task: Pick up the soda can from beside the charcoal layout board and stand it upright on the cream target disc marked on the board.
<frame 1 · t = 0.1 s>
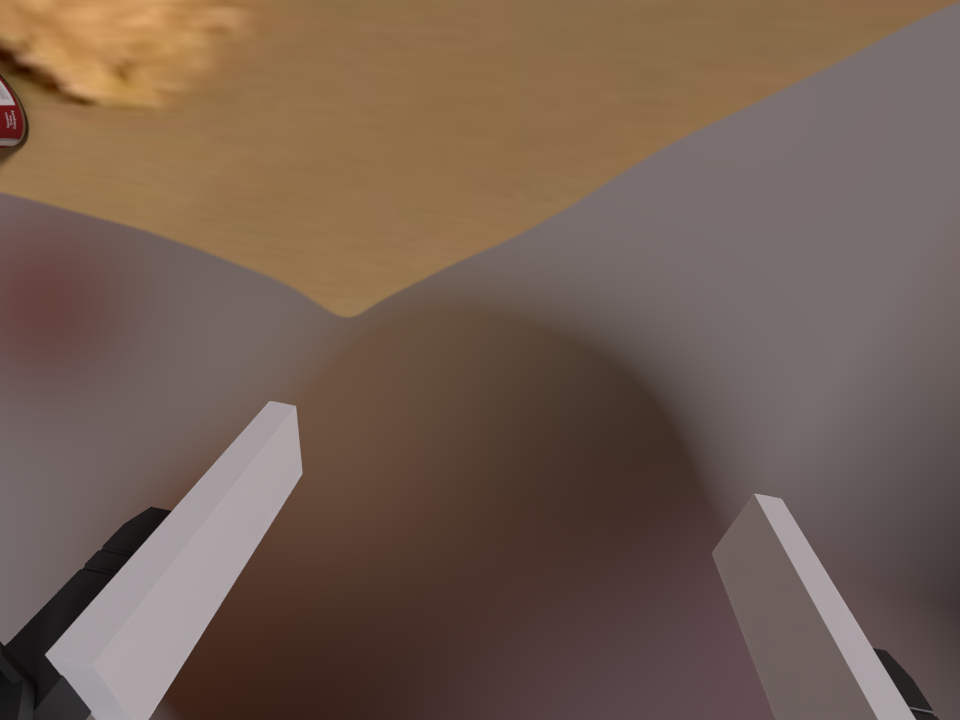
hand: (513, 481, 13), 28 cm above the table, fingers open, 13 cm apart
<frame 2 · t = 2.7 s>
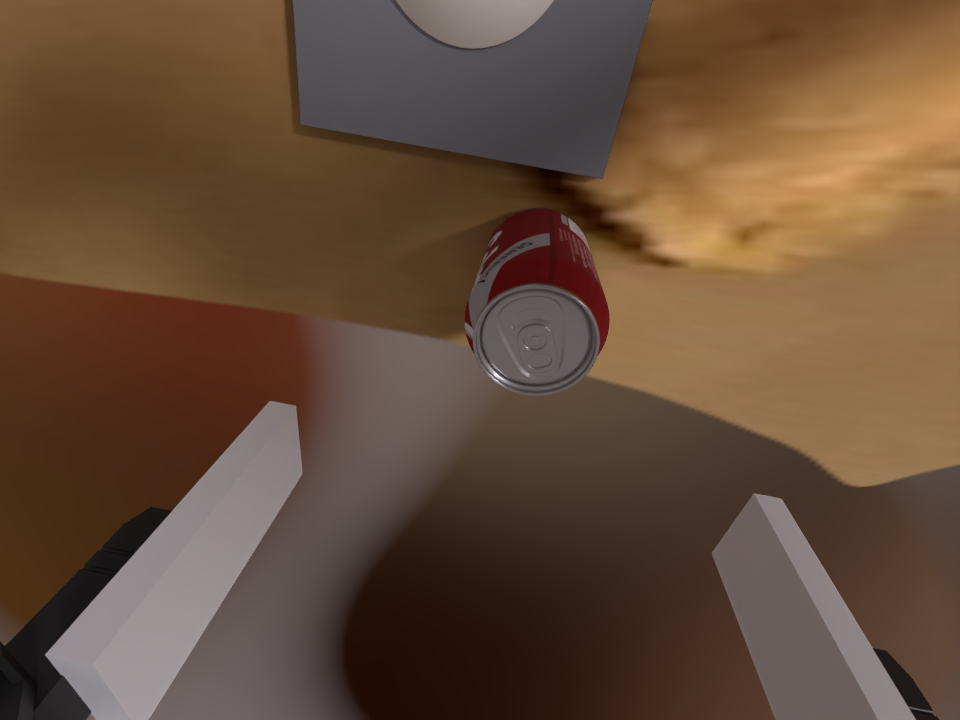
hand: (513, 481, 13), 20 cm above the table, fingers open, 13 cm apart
soda can: (536, 256, 29), on the table
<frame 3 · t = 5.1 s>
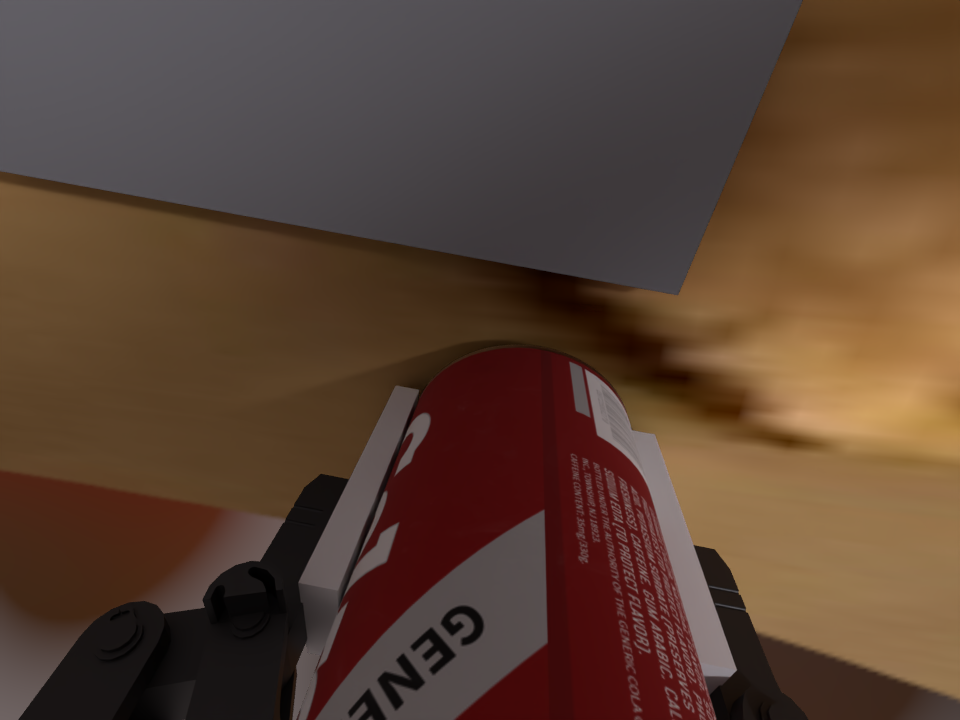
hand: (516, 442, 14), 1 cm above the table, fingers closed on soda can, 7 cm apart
soda can: (519, 419, 15), on the table, touching gripper
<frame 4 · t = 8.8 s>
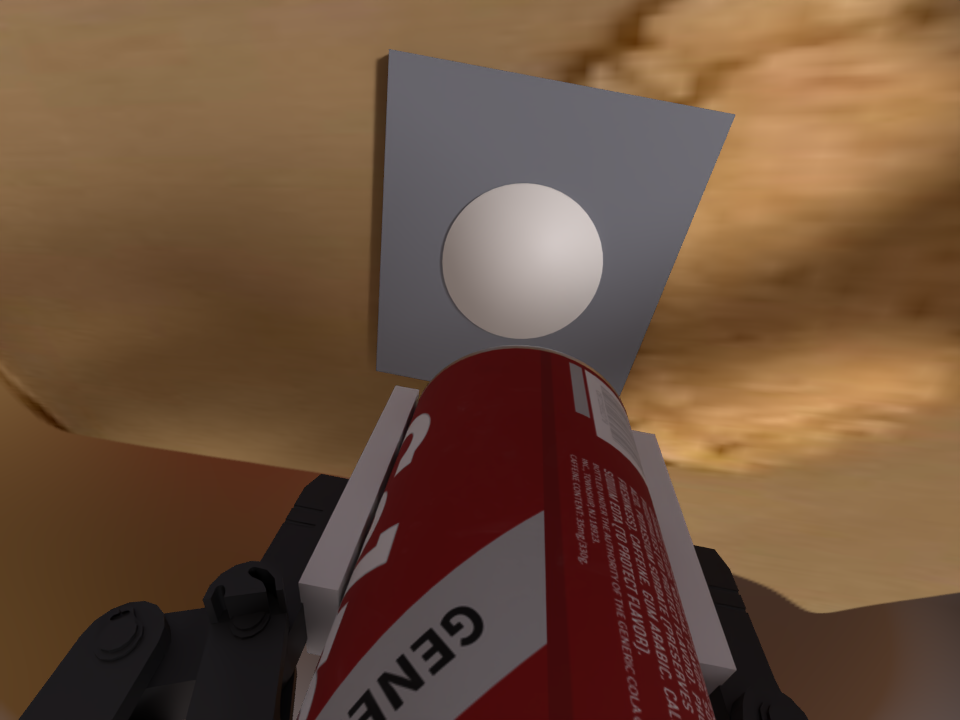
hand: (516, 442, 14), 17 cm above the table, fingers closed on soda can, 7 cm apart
layout board: (521, 262, 28), on the table
soda can: (519, 419, 15), point 16 cm above the table, touching gripper
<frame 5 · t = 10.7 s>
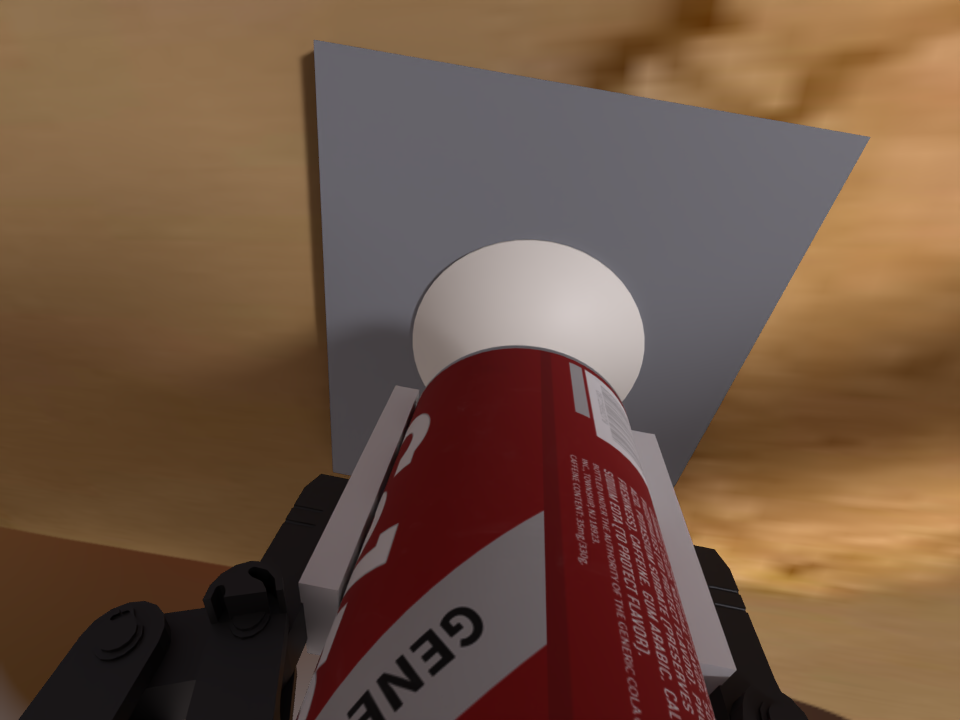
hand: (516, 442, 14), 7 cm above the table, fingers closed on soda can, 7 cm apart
layout board: (525, 341, 20), on the table
soda can: (519, 419, 15), point 6 cm above the table, touching gripper
when the fingers open (3 cm above the table, at t = 12.3 s): soda can drops 1 cm, resting on layout board.
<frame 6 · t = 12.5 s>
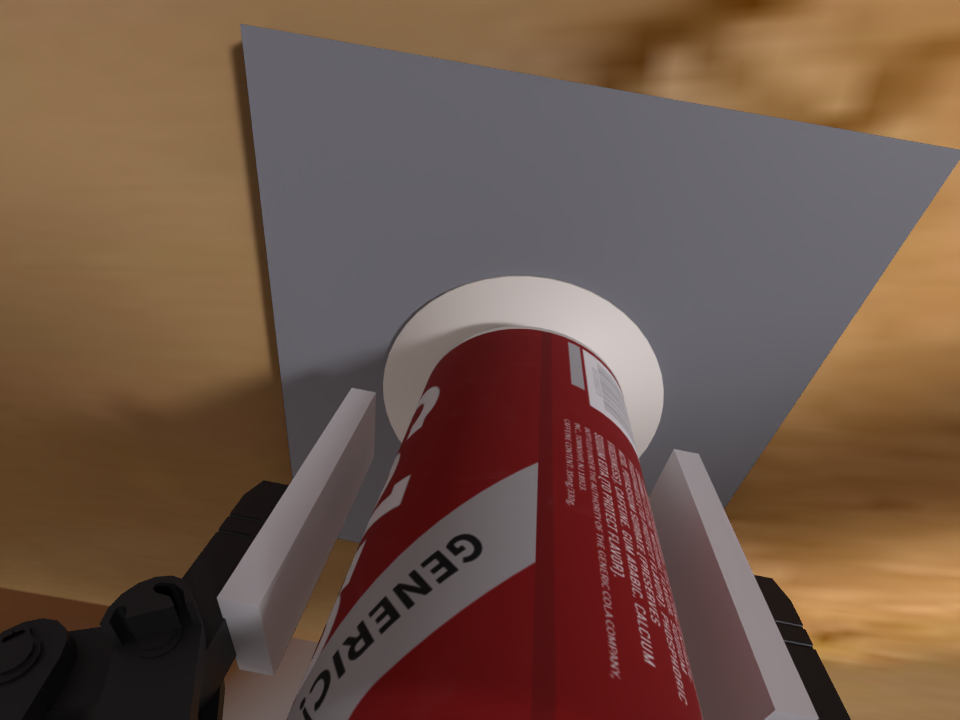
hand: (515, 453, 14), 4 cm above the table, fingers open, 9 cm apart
layout board: (519, 389, 17), on the table
soda can: (522, 398, 16), point 1 cm above the table, touching layout board
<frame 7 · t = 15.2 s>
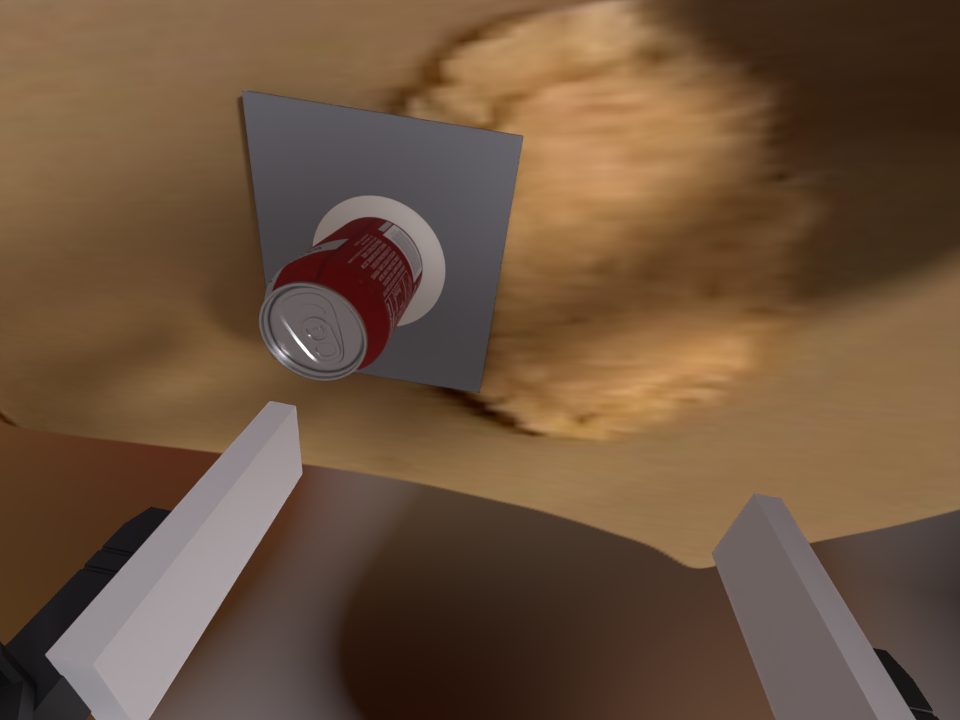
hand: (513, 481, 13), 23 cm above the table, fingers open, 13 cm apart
layout board: (383, 261, 33), on the table
soda can: (380, 260, 32), point 1 cm above the table, touching layout board
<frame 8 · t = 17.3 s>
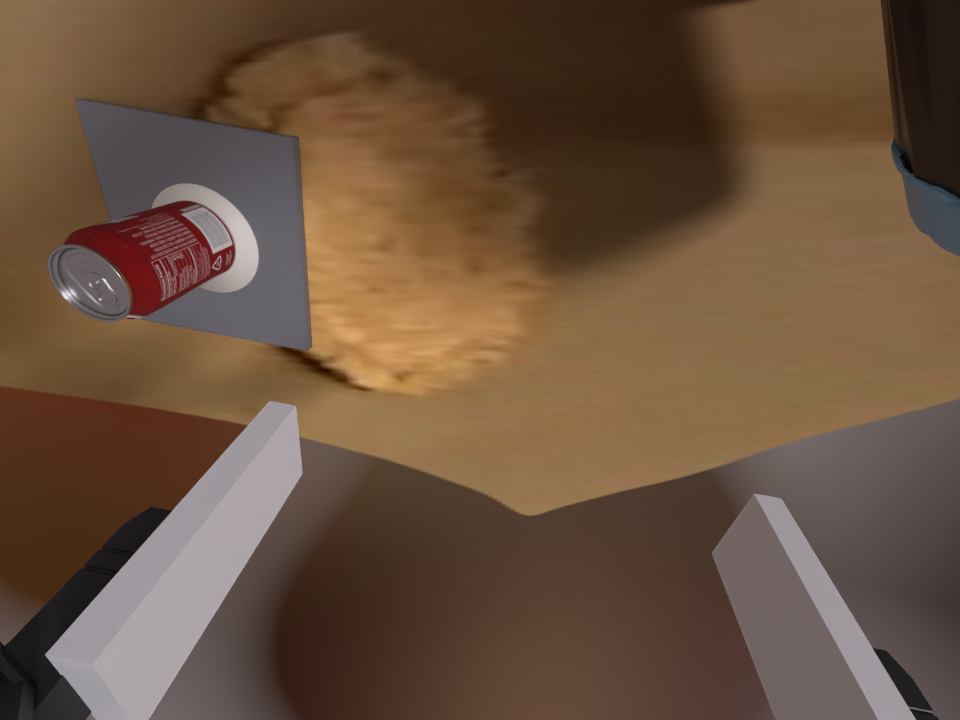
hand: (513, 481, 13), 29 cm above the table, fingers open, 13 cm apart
layout board: (213, 238, 41), on the table
soda can: (206, 236, 40), point 1 cm above the table, touching layout board
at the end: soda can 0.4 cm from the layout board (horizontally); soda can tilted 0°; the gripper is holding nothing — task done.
